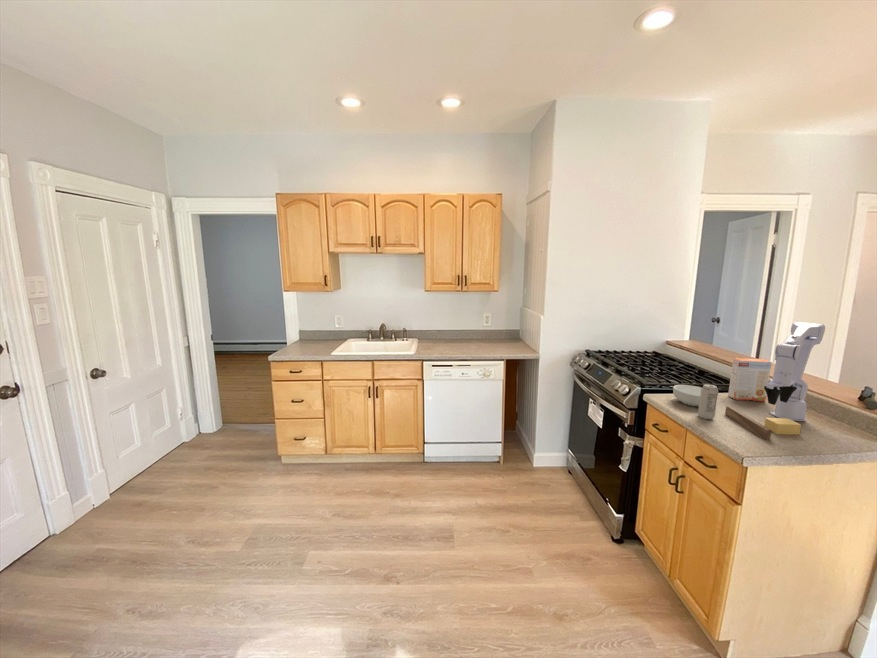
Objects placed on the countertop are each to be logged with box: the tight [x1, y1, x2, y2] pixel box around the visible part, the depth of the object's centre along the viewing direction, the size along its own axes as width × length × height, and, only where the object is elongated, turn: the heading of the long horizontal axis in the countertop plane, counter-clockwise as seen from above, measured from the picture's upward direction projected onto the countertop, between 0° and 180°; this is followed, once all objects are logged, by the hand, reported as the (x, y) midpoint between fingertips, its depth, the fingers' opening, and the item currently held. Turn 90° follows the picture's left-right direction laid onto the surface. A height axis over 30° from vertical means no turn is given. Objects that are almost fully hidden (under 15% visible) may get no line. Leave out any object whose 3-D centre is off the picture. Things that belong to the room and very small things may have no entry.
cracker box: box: [727, 357, 772, 402], centre depth 182 cm, size 14×6×21 cm, turn 77°
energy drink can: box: [697, 383, 719, 420], centre depth 160 cm, size 6×6×15 cm
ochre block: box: [763, 417, 802, 435], centre depth 149 cm, size 9×6×4 cm, turn 87°
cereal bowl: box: [672, 384, 702, 407], centre depth 177 cm, size 17×17×7 cm
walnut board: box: [724, 405, 773, 440], centre depth 153 cm, size 2×24×4 cm, turn 173°
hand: (777, 402), depth 152 cm, fingers open, 7 cm apart
